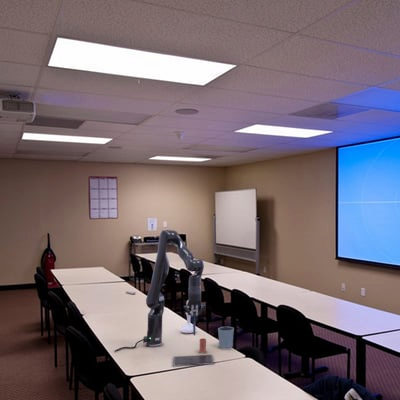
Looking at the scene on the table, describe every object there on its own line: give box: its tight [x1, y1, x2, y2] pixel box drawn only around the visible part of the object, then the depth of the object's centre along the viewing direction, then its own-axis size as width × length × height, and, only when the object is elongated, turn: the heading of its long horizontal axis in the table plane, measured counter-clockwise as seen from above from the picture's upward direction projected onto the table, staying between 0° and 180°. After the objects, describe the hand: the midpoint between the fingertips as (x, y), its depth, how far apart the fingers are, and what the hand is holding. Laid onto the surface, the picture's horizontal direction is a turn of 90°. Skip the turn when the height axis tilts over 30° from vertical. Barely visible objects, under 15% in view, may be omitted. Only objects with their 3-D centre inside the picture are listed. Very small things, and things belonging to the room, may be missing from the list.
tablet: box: [172, 354, 214, 367], centre depth 244 cm, size 22×14×1 cm, turn 101°
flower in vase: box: [180, 300, 197, 334], centre depth 302 cm, size 13×11×25 cm
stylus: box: [192, 312, 196, 336], centre depth 253 cm, size 1×1×13 cm
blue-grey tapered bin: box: [217, 326, 235, 350], centre depth 270 cm, size 10×10×12 cm
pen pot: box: [198, 337, 207, 354], centre depth 259 cm, size 4×4×8 cm
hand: (194, 321), depth 253 cm, fingers closed on stylus, 1 cm apart
